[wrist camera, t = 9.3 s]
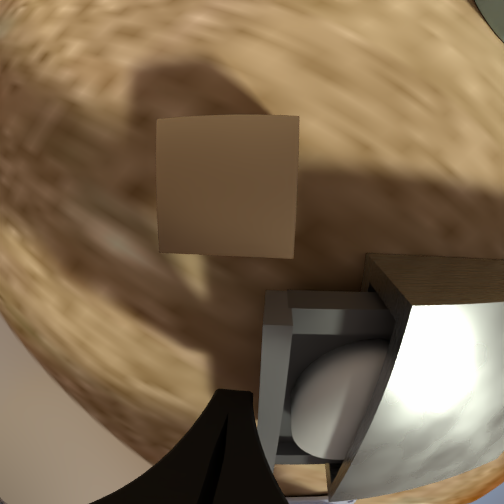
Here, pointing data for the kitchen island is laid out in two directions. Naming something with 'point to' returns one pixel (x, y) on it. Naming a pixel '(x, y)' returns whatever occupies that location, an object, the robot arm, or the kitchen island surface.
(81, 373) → the kitchen island surface
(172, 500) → the robot arm
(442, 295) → the shiny gray metal block
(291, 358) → the tray
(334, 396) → the white rounded dome
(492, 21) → the cup
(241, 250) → the brown cardboard cube
